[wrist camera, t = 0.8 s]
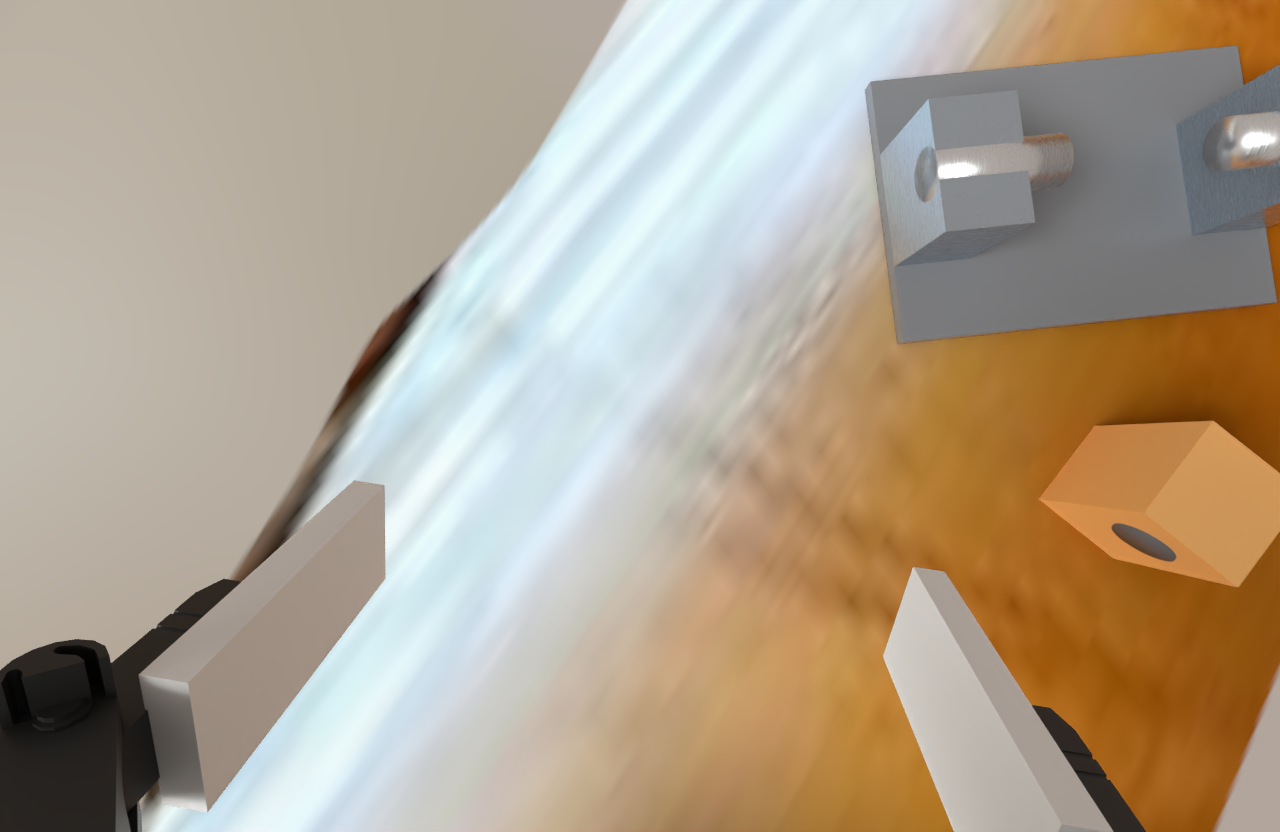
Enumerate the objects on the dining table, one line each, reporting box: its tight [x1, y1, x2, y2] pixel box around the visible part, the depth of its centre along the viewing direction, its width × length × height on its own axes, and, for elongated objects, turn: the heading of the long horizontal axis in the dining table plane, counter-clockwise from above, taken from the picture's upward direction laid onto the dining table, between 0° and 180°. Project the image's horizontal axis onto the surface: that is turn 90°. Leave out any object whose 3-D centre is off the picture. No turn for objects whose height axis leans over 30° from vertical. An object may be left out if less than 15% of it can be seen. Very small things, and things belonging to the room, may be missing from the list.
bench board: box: [865, 46, 1277, 344], centre depth 34 cm, size 14×20×1 cm
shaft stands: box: [880, 64, 1280, 267], centre depth 31 cm, size 6×20×6 cm, turn 96°
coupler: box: [1039, 421, 1280, 587], centre depth 31 cm, size 5×5×7 cm
